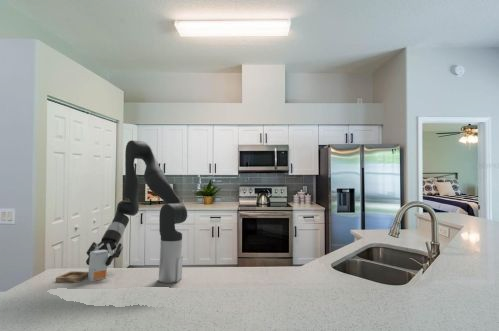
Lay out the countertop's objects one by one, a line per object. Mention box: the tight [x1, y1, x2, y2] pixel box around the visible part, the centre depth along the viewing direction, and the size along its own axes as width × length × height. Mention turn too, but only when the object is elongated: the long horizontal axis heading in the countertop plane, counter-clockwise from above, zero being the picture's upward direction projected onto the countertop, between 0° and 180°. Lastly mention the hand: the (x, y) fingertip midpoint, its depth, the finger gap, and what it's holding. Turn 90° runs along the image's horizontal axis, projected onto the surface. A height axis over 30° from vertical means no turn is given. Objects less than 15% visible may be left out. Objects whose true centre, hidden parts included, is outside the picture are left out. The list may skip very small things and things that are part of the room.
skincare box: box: [87, 250, 109, 282], centre depth 117 cm, size 6×4×12 cm
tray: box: [55, 270, 89, 284], centre depth 116 cm, size 9×9×2 cm
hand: (97, 264), depth 117 cm, fingers open, 8 cm apart
